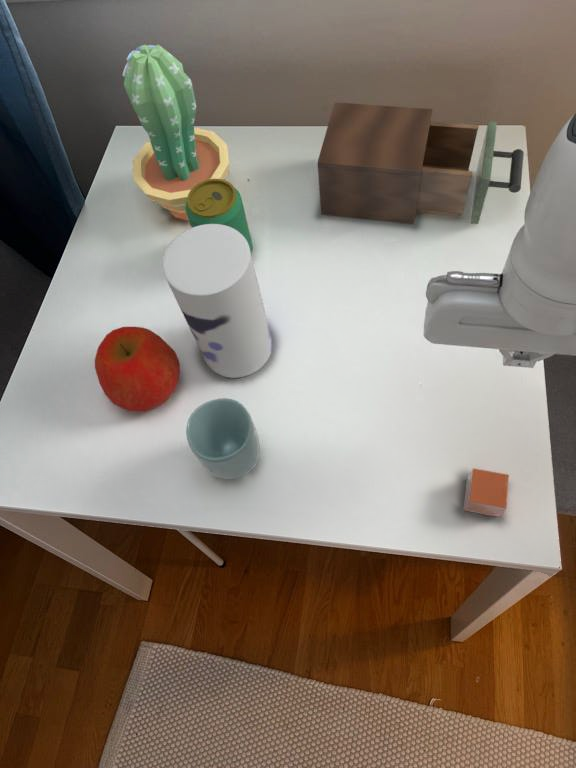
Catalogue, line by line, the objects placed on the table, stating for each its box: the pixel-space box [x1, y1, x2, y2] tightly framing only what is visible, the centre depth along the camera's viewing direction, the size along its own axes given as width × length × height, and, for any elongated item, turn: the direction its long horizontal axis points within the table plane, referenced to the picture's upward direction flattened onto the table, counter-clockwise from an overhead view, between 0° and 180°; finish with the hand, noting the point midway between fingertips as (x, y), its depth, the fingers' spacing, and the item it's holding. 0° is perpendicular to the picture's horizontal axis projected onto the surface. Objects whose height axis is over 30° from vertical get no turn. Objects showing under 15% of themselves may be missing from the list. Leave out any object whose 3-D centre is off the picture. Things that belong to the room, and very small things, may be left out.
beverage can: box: [185, 179, 254, 254], centre depth 85 cm, size 8×8×12 cm
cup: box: [185, 397, 261, 480], centre depth 70 cm, size 8×8×10 cm
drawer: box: [416, 120, 525, 225], centre depth 86 cm, size 18×11×9 cm, turn 77°
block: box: [463, 468, 510, 518], centre depth 68 cm, size 4×4×4 cm
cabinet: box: [316, 101, 433, 225], centre depth 88 cm, size 15×13×11 cm
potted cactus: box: [122, 44, 230, 222], centre depth 85 cm, size 15×15×25 cm
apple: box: [94, 326, 181, 413], centre depth 76 cm, size 11×11×11 cm
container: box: [162, 224, 274, 379], centre depth 73 cm, size 10×10×20 cm
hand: (517, 361), depth 60 cm, fingers closed
